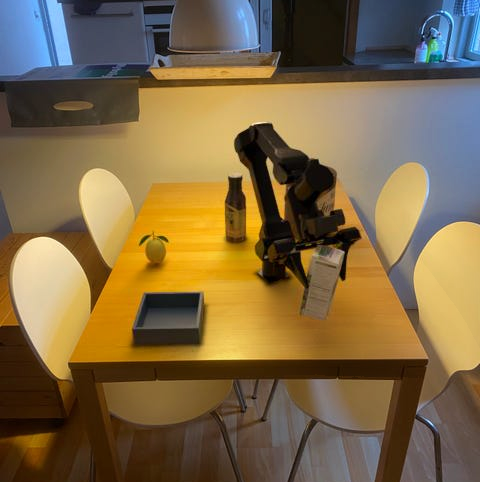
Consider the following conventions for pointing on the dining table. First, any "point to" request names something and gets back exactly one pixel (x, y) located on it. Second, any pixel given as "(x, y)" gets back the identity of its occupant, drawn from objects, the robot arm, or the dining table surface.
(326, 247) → the syrup box
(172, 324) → the bin
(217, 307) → the dining table surface
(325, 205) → the wooden container
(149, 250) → the lemon
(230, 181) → the sauce bottle
